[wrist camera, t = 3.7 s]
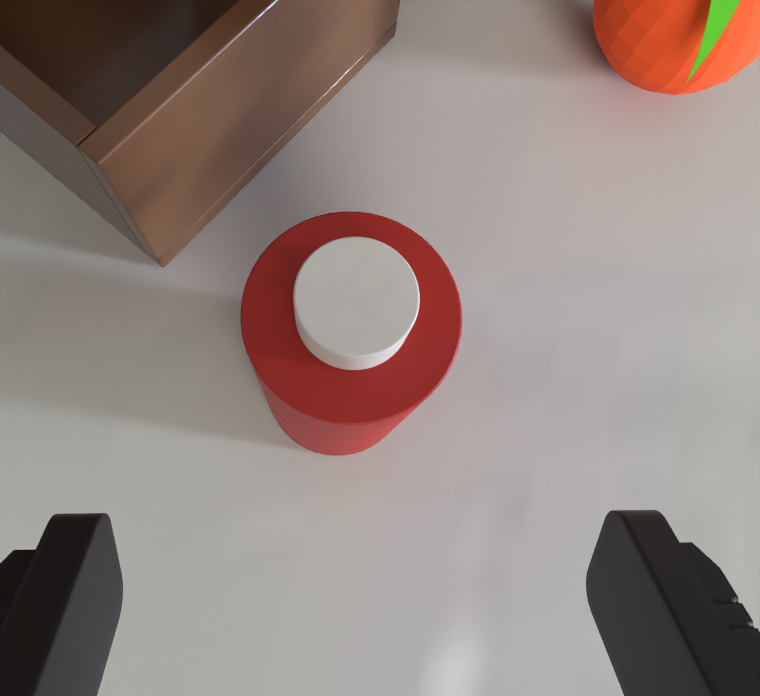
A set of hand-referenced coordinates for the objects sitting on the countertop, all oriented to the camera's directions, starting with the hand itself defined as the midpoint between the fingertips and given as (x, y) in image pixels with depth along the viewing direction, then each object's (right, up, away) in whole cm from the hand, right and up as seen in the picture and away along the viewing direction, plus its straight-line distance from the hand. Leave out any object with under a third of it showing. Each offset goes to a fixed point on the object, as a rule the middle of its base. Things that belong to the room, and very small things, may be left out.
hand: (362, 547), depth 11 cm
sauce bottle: (-1, +2, +13) cm, 14 cm away
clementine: (+11, +15, +18) cm, 26 cm away
